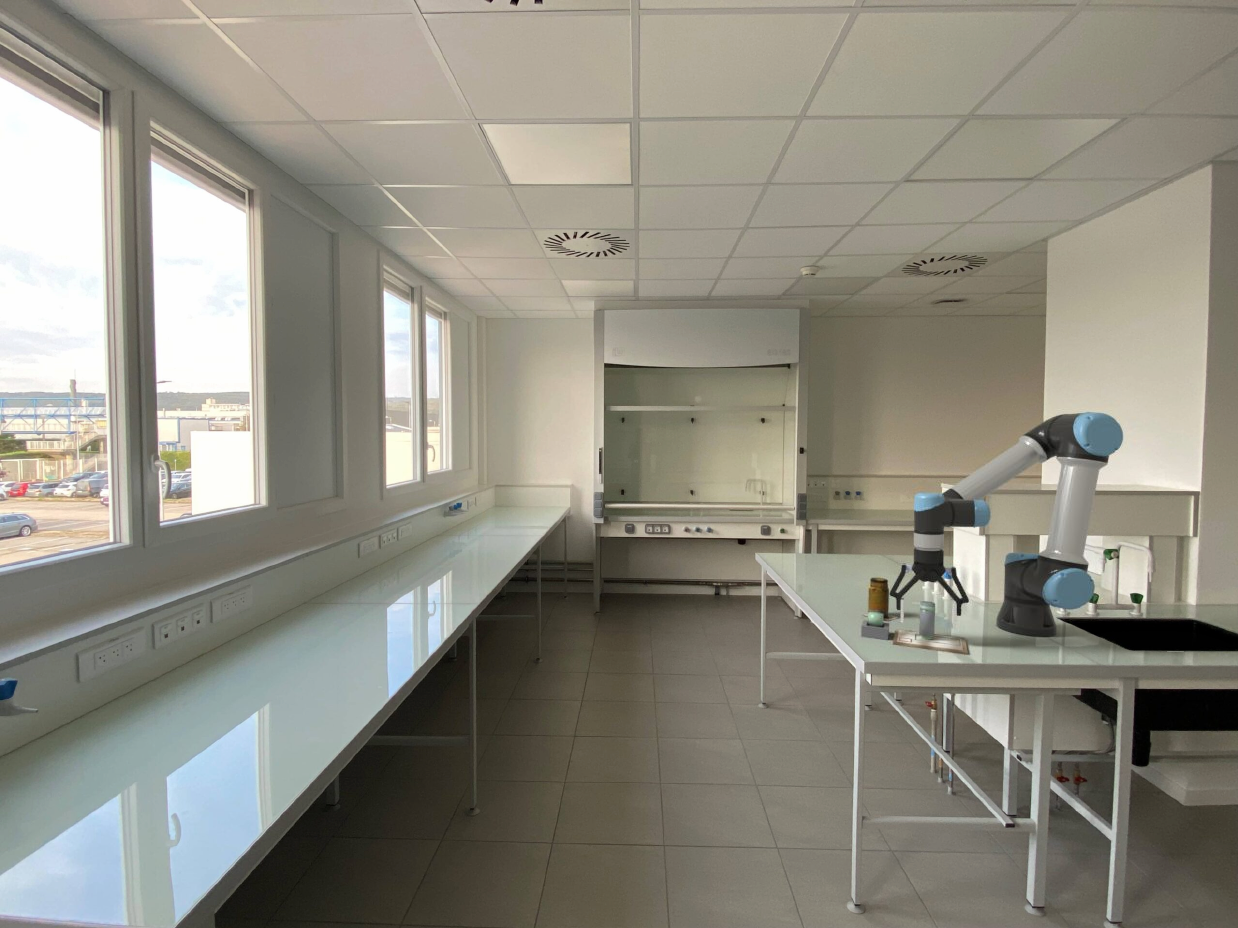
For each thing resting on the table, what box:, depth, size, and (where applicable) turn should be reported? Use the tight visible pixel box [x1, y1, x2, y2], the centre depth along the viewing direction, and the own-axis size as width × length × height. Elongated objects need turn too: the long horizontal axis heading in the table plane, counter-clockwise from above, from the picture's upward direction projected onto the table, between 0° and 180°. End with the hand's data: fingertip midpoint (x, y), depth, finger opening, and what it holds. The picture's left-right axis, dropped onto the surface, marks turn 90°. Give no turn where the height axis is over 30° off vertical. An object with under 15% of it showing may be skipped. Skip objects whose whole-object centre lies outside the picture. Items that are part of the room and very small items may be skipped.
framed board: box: [892, 628, 968, 656], centre depth 177 cm, size 18×14×1 cm
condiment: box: [863, 577, 899, 621], centre depth 203 cm, size 7×8×12 cm
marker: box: [918, 600, 936, 640], centre depth 178 cm, size 4×4×10 cm
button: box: [867, 612, 884, 626], centre depth 183 cm, size 4×4×3 cm
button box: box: [860, 619, 890, 641], centre depth 183 cm, size 7×7×3 cm
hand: (928, 624), depth 178 cm, fingers open, 12 cm apart
